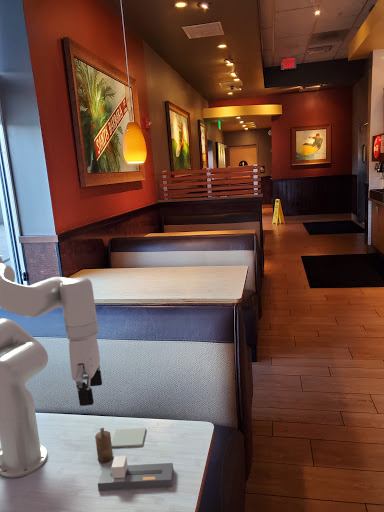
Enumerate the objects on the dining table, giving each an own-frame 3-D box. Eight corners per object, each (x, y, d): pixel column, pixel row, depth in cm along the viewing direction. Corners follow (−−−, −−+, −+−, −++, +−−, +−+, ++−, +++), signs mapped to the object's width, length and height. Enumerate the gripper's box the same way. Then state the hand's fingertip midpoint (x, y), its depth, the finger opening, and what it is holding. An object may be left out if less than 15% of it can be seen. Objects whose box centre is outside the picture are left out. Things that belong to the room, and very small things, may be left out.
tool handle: (96, 463, 109) (92, 433, 107) (100, 454, 113) (96, 424, 111) (111, 463, 109) (107, 432, 107) (114, 453, 113) (110, 423, 111)
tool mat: (110, 447, 115) (110, 446, 115) (116, 431, 123) (116, 429, 123) (142, 446, 115) (142, 444, 115) (145, 429, 123) (145, 427, 123)
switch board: (98, 490, 99) (97, 483, 99) (104, 473, 105) (103, 466, 104) (171, 486, 98) (171, 479, 98) (173, 469, 104) (172, 462, 104)
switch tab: (112, 478, 99) (111, 467, 99) (115, 467, 103) (114, 456, 103) (124, 477, 99) (123, 466, 99) (127, 466, 103) (126, 455, 103)
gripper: (76, 319, 107) (85, 380, 109) (55, 343, 90) (66, 415, 92) (104, 316, 107) (112, 377, 109) (89, 340, 90) (99, 411, 92)
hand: (91, 394), depth 101 cm, fingers open, 9 cm apart
